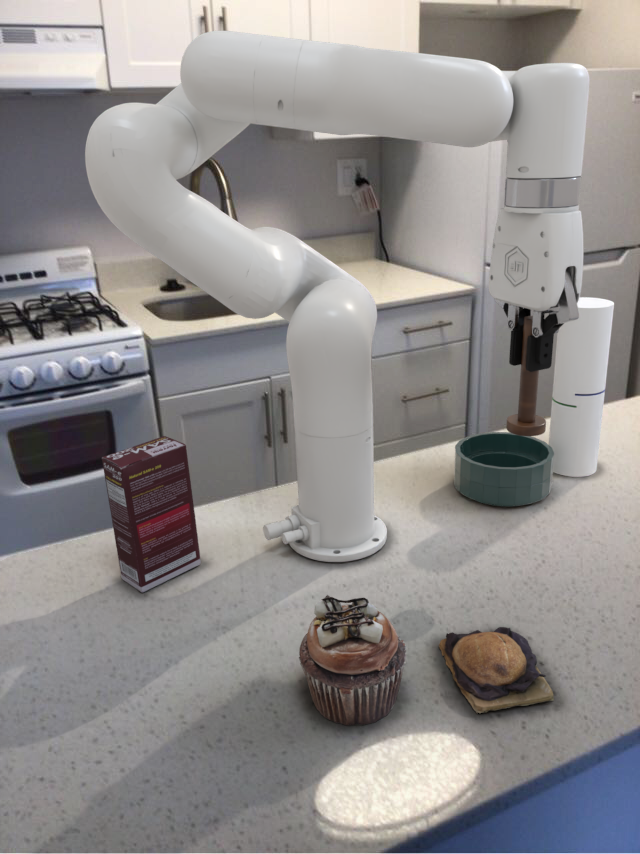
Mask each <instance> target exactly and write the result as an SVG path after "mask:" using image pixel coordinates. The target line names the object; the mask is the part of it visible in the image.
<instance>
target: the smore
mask: <svg viewBox="0 0 640 854" xmlns="http://www.w3.org/2000/svg"><path fill="white" fill-rule="evenodd" d="M438 648H439V649H440V651H441V656H444V658H443V659H444V660H445V665H446V666H447V668H448V669H450V672H451V673H452V675H451V676H452V679H453V680H454V682H455V683H456V685H457V687H459V689H460V692H461V693H462V695H463V696H464V697H465V699H467V701H468V703H469V704H470V706H471V707H472V709H473V710H474V711H475V713H476V714H478V713H479V714H481V713H488V712H489V711H494V712H495V711H498V710H502V709H507V708H508V709H509V708H513V707H517V706H519V707H524V706H529V705H534V704H538V703H544V702H550V701H551V702H552V701H555V698H554V692H553V690H552V688H551V687H550V685H549V683H548V682H547V680H546V679H545V677H547V675H546V674H543V673H541V671H540V669H539V667H538V666H537V663H538V660H537V656H536V654H534V653H533V650H532V647H531V645H530V644H529V641H528V639H526V638H525V636H524V635H521V634H519V633H518V632H515V631H513V630H511V627H505V626H499V627H497V628H495V629H494V630H493V631H483V632H482V631H481V630H479V629H477V630H474V631H471V632H469V633H455V632H449V633H448V632H446V635H445V638H443V639H441V640H440V641H439V644H438Z"/></svg>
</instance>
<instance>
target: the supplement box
mask: <svg viewBox="0 0 640 854" xmlns="http://www.w3.org/2000/svg"><path fill="white" fill-rule="evenodd" d="M187 450H188V449H187V445H186V443H183V442H181V441H179V440H176V439H175V438H171V437H169V436H166V435H163V436H159V437H157V438H153V439H151V440H147V441H145V442H142V443H140V444H137V445H134V446H130V447H127V448H125V449H122V450H119V451H117V452H114V453H110V454H108V455H104V456H102V457H101V461H102V462H101V463H102V468H103V474H104V475H103V476H104V479H105V480H104V481H105V486H106V492H107V499H108V505H109V510H110V516H111V522H112V528H113V535H114V541H115V548H116V554H117V558H118V559H117V560H118V567H119V571H120V577H121V580H123V581H124V582H126V583H127V584H128V585H130V586H131V587H133V588H134V589H136V590H137V591H139V592H140V593H145V592H147V591H149V590H151V589H153V588H155V587H157V586H159V585H161V584H163V583H165V582H167V581H169V580H171V579H173V578H175V577H177V576H179V575H181V574H183V573H185V572H187V571H189V570H191V569H193V568H197V567H198V566H200V565H201V563H202V561H201V553H200V545H199V537H198V527H197V521H196V512H195V505H194V497H193V489H192V482H191V473H190V466H189V457H188V451H187Z"/></svg>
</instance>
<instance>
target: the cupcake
mask: <svg viewBox="0 0 640 854" xmlns="http://www.w3.org/2000/svg"><path fill="white" fill-rule="evenodd" d="M343 603H344V604H343ZM313 614H314V616H315V617H313V619H312V621H311V622H310V624H309V626H308V629H307V633H305V635H304V636H303V638H302V640H301V643H300V646H299V650H298V651H299V652H298V654H299V656H298V659H299V662H300V663H299V664H300V667H301V668H302V672H303V675H304V676H305V679H306V681H307V685H308V688H309V692H310V696H311V699H312V702H313V703H314V707H315V708H316V710H317V711H318V712H319V713H320V715H321V716H323V718H325V719H327V720H329V721H330V722H331V721H332V722H334V723H335V724H340V725H344V726H356V725H361V726H364V725H369V724H374V723H376V722H377V721H380V720H381V719H383V718H385V717H387V716H388V715H389V713H390V712H391V711H392V710H393V708H394V706H395V705H396V702H397V698H398V694H399V690H400V687H401V681H402V677H403V673H404V669H405V666H406V664H407V663H406V660H407V649H406V648H407V646H406V643H405V642H404V641H405V640H404V639H401V636H398V633H397V630H396V629H395V627H394V625H393V624H392V622H391V621H390V620H389V618H387V616H386V615H385V614H384V613H382V612H380V611H379V610H378V608H377V607H376V605H374V604H372V603H370V602H369V600H368V598H366V597H357V598H351V599H346V600H342V599H338V598H335V597H333V596H330V595H329V594H326V596H325V597H323V598H321V600H318V601H316V603H315V604H314V612H313Z"/></svg>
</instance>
